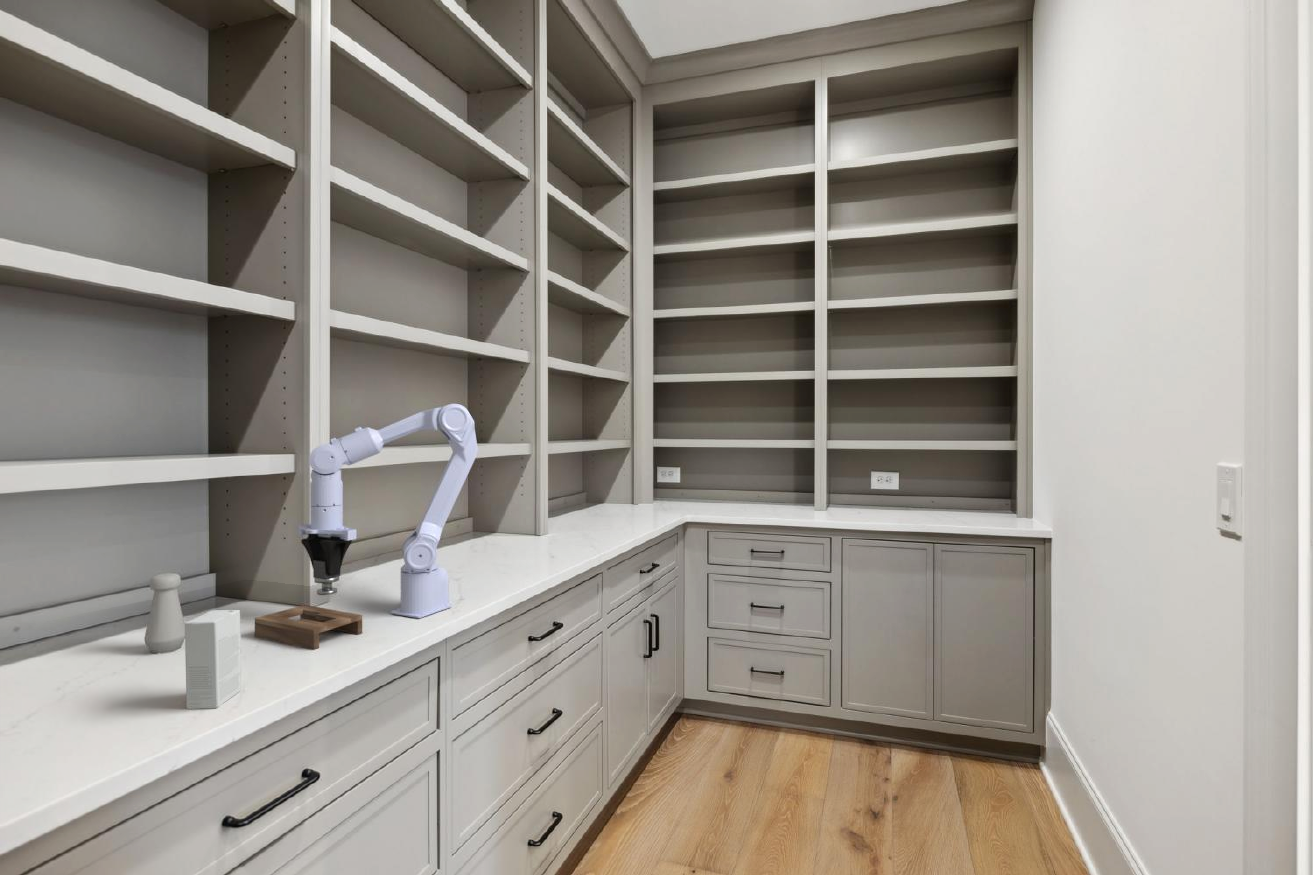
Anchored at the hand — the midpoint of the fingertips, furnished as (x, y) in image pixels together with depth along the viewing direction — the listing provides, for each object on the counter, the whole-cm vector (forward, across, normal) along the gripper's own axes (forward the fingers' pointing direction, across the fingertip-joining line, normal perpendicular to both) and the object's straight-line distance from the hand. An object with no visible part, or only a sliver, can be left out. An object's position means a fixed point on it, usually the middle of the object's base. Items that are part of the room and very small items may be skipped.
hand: (326, 573), depth 128 cm
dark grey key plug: (+4, 0, 0) cm, 4 cm away
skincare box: (+10, +19, -32) cm, 38 cm away
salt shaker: (+10, -10, -23) cm, 27 cm away
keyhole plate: (+10, +6, -7) cm, 13 cm away
